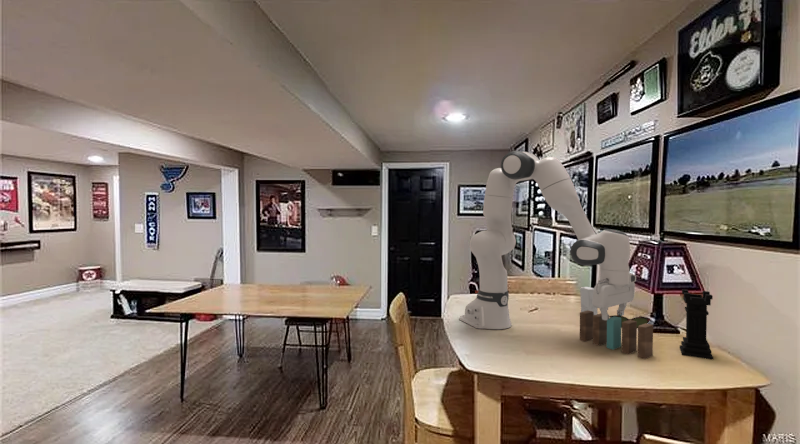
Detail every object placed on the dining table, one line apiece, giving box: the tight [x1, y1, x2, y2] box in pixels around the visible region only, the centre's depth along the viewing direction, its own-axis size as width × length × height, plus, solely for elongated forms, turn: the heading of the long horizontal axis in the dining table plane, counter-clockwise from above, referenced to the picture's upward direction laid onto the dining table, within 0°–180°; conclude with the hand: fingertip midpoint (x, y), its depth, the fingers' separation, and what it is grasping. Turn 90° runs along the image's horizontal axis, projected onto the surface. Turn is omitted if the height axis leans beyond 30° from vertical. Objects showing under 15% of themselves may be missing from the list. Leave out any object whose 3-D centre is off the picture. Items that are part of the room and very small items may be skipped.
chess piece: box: [679, 289, 714, 360], centre depth 129 cm, size 8×8×20 cm
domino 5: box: [637, 323, 654, 360], centre depth 127 cm, size 2×5×10 cm, turn 123°
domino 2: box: [592, 312, 607, 346], centre depth 140 cm, size 2×5×10 cm, turn 123°
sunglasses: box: [609, 314, 651, 328], centre depth 164 cm, size 14×15×5 cm
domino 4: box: [621, 320, 638, 355], centre depth 132 cm, size 2×5×10 cm, turn 123°
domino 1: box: [579, 310, 594, 342], centre depth 144 cm, size 2×5×10 cm, turn 123°
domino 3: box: [606, 317, 622, 351], centre depth 136 cm, size 2×5×10 cm, turn 123°
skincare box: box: [579, 286, 599, 315], centre depth 176 cm, size 6×4×12 cm
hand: (613, 317), depth 136 cm, fingers open, 8 cm apart
